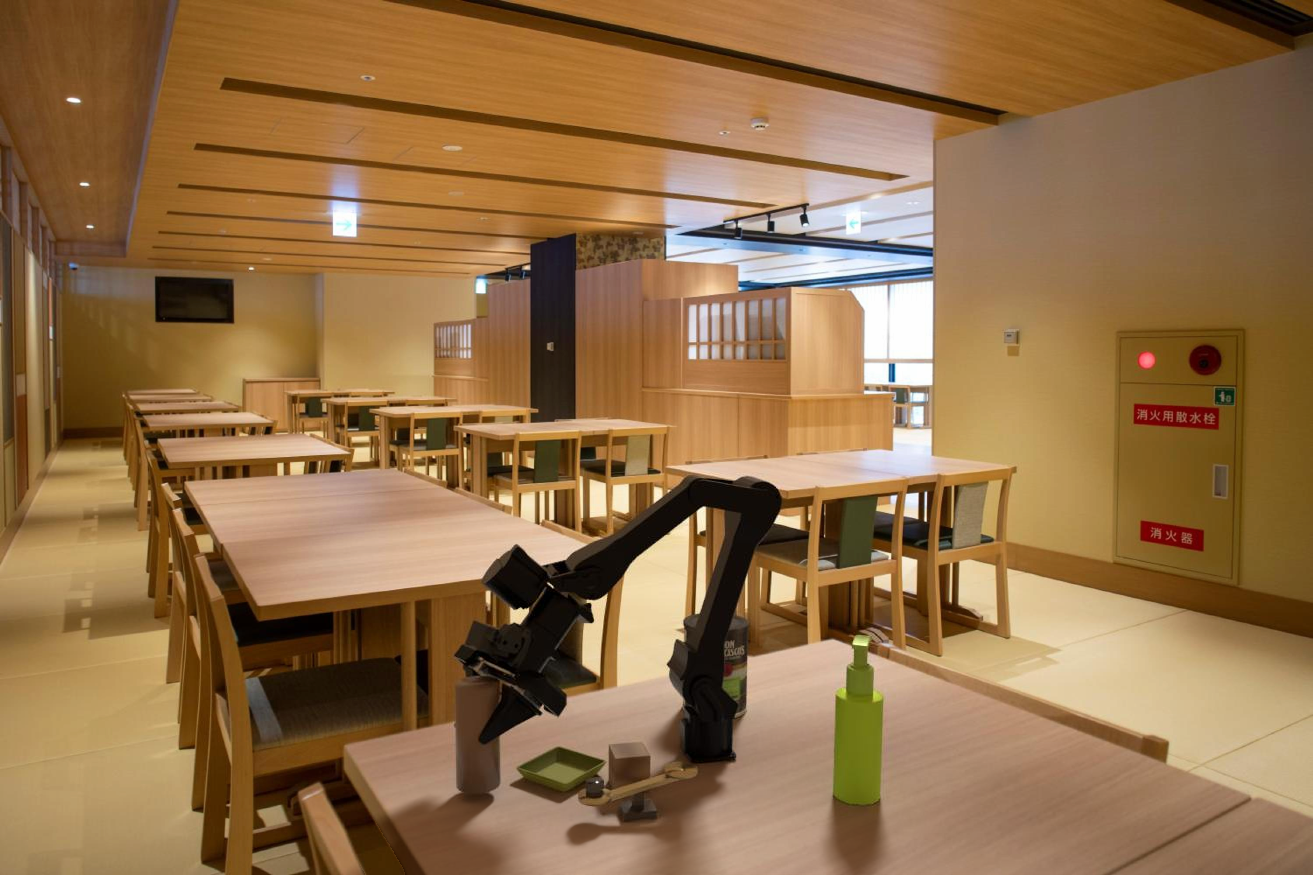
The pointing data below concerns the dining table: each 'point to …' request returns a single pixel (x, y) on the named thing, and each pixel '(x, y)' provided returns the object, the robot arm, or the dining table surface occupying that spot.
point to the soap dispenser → (858, 732)
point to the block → (628, 764)
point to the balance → (635, 792)
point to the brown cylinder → (476, 735)
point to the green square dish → (561, 768)
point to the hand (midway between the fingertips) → (468, 735)
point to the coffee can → (730, 659)
